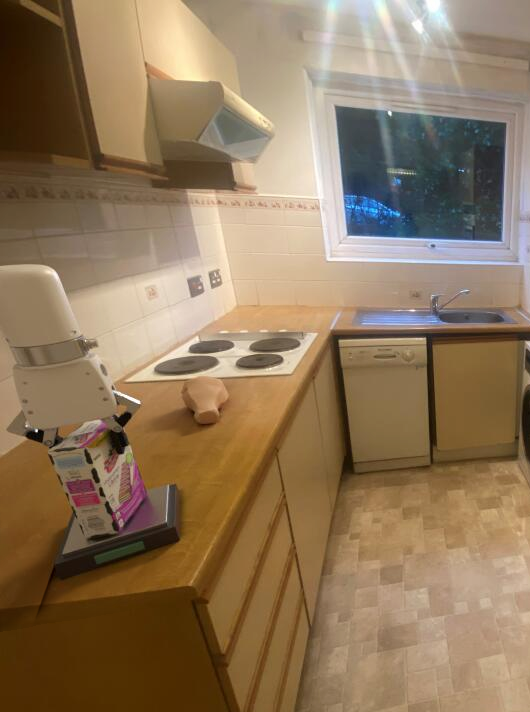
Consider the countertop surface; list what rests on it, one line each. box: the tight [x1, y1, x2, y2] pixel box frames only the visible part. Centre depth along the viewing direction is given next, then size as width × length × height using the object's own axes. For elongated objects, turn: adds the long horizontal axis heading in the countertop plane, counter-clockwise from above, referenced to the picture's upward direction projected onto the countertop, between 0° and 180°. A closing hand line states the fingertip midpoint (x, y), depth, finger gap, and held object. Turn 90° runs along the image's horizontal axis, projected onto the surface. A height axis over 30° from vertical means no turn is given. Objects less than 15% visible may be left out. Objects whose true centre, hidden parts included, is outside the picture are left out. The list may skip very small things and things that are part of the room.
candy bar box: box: [46, 420, 147, 539], centre depth 72 cm, size 11×5×16 cm, turn 18°
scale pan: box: [62, 484, 170, 558], centre depth 75 cm, size 13×13×1 cm
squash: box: [180, 375, 230, 425], centre depth 119 cm, size 11×20×9 cm, turn 37°
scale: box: [53, 483, 181, 580], centre depth 76 cm, size 15×16×3 cm
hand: (95, 456), depth 70 cm, fingers closed on candy bar box, 5 cm apart
